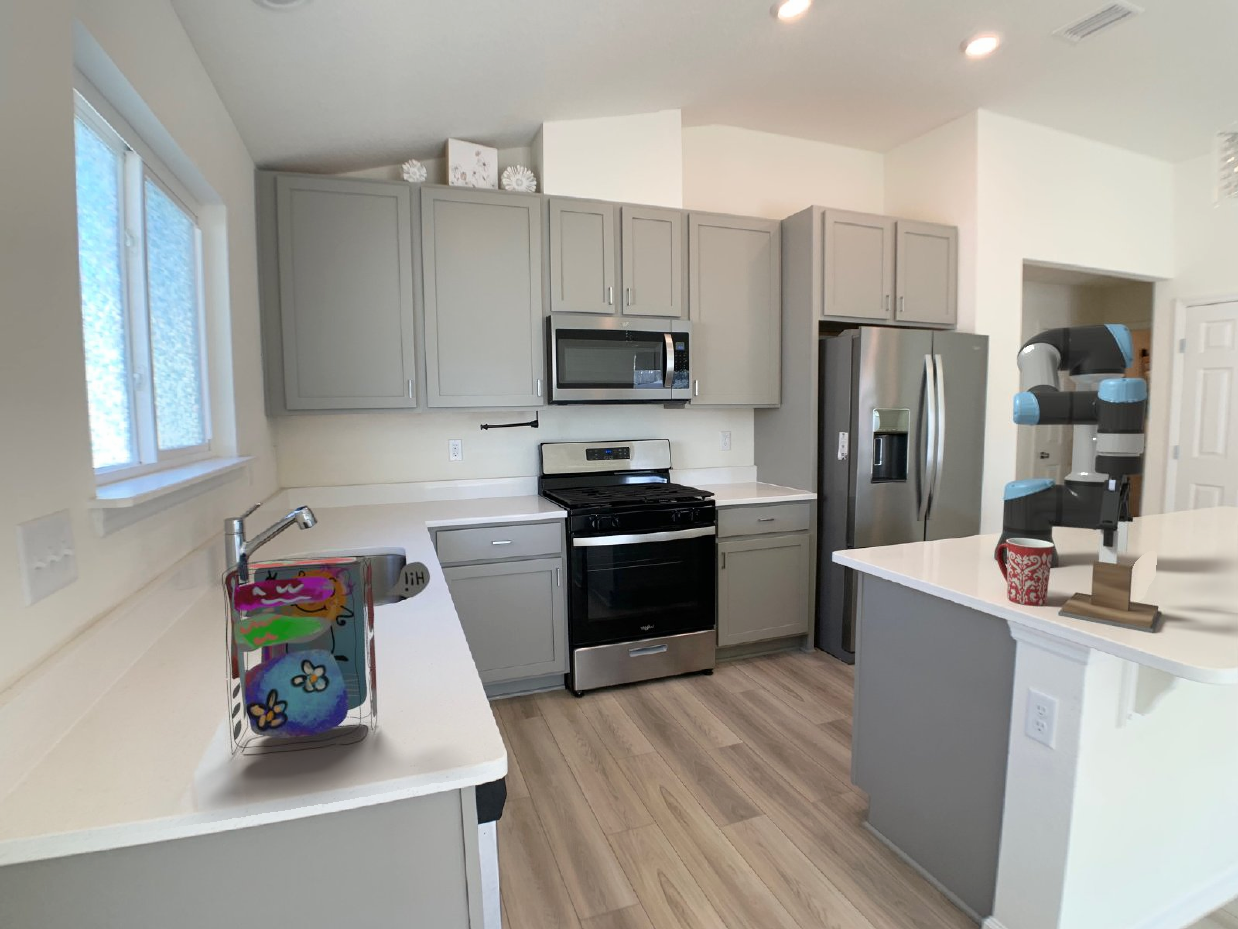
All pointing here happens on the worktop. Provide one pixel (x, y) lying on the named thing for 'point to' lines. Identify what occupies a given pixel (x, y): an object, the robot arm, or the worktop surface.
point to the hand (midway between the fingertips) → (1113, 557)
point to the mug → (1026, 569)
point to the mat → (1115, 622)
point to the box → (305, 643)
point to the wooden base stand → (1111, 598)
